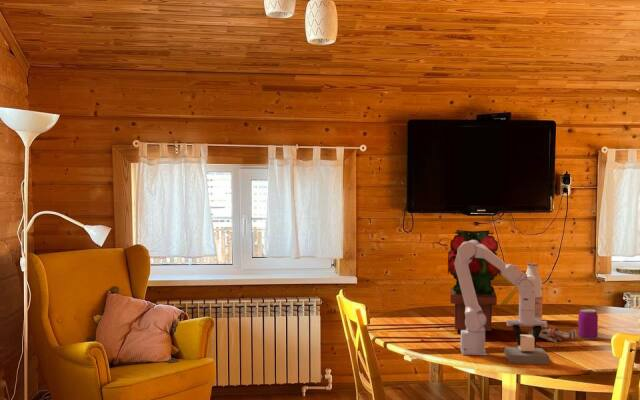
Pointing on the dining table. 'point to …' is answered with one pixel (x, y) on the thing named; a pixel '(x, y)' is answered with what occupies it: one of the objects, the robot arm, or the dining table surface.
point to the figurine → (555, 334)
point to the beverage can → (588, 324)
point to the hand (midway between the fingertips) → (526, 345)
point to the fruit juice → (536, 289)
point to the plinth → (526, 356)
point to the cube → (526, 343)
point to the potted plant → (474, 277)
